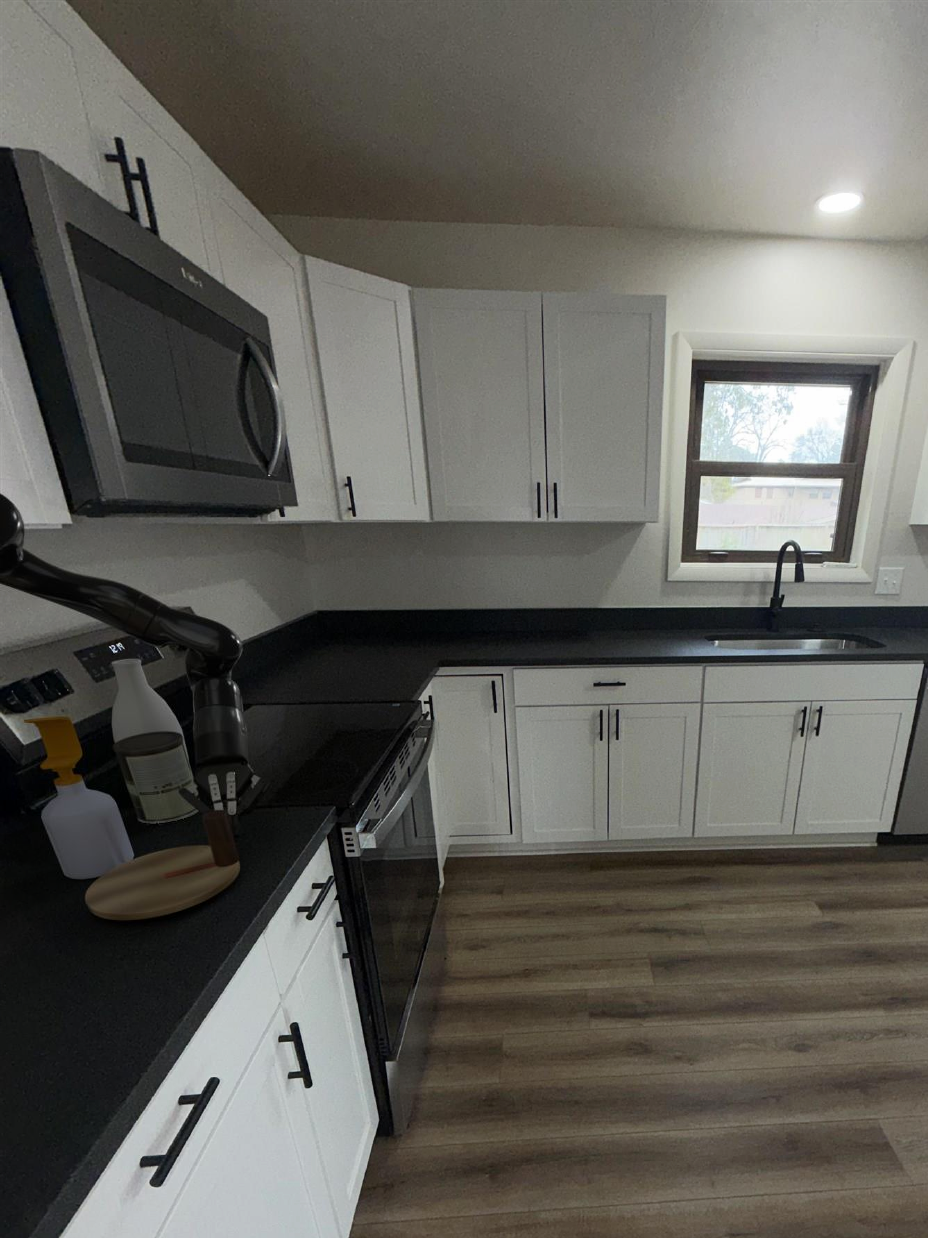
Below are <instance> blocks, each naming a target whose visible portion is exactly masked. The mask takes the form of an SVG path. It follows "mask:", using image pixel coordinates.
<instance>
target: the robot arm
mask: <svg viewBox="0 0 928 1238" xmlns="http://www.w3.org/2000/svg"><path fill="white" fill-rule="evenodd" d="M25 529H26V528H25V523H24V519H23V516H22V513H21V512H20V510H19V509H18V507H17V506H16V505H15V504H14V503H13V502H12V501H11V500H10V499H9V498H8V497H7V496H5V495H4V494H2V493H1V492H0V585H3V586H5V587H9V588H12V589H13V590H17V591H20V592H22V593H25V594H29V595H31V596H35V597H37V598H39V599H42V600H45V601H49V602H51V603H53V604H57V605H59V606H62V607H65V608H68V609H70V610H73V611H75V612H78V613H81V614H83V615H85V616H87V617H90V618H93V619H94V620H97V621H98V622H100V623H101V622H102V623H103V624H105V625H108V626H110V627H112V628H114V629H116V630H118V631H119V632H122V633H124V634H126V635H127V636H128V635H129V636H131V637H133V638H134V639H137V640H138V641H140V642H141V641H142V643H145V644H147V645H149V646H152V647H154V648H157V649H162V648H165V647H167V646H168V645H170V644H172V643H173V644H177V645H181V646H184V647H186V648H187V649H186V652H185V656H184V666H185V667H184V668H185V674H186V677H187V681H188V684H189V687H190V689H191V693H192V707H193V723H192V724H193V725H192V739H193V745H194V758H195V761H194V762H195V773H194V775H193V783H192V784H191V785H189V786H188V787H187V788H181V789H179V794H180V795H181V796H182V797H183V798H184V799H185V800H186V801H187V802H188V803H190V804H191V805H192V806H193V807H194V808H195V809H197V810H198V811H199V812H198V813H200V814H201V815H203V814H205V813H207V812H210V811H214V810H225V811H226V812H227V816H228V819H229V823H230V827H231V830H232V834H233V838H234V842H235V843H237V842H238V839H240V838H241V836H242V829H241V826H242V825H241V818H242V817H243V816H245V815H251V814H252V813H253V811H254V810H255V809H256V807H257V806H258V805H259V803H260V802H261V801H262V799H263V798H264V797H265V795H266V794H267V793H268V791H269V790H270V788H271V784H270V782H269V781H268V778H266V777H264V776H263V777H259V776H258V775H256V773H255V771H254V770H253V769H252V766H251V758H250V757H251V756H250V748H249V739H248V729H247V723H246V719H245V715H244V707H243V697H242V692H241V688H240V687H239V685H238V684H237V683H236V682H235V681H233V680H232V670H233V669H234V667H235V666H236V664H237V663H238V661H239V659H240V658H241V656H242V653H243V650H244V647H243V643H242V640H241V638H240V637H239V636H238V634H237V633H236V632H235V631H234V630H232V629H231V628H230V627H228V626H227V625H225V624H223V623H221V622H220V621H216V620H213V619H210V618H208V617H204V616H202V615H197V614H194V613H191V612H188V611H183V610H179V609H176V608H173V607H171V606H169V605H167V604H166V603H163V602H162V601H160V600H158V599H157V598H155V597H152V596H150V595H148V594H147V593H145V592H143V591H141V590H139V589H137V588H135V587H133V586H130V585H127V584H125V583H122V582H119V581H116V580H112V579H107V578H103V577H98V576H92V575H86V574H82V573H78V572H74V571H71V570H67V569H64V568H61V567H59V566H57V565H54V564H52V563H49V562H47V561H46V560H43V559H42V558H40V557H38V556H36V554H33V553H32V552H31V551H29V550H27V549H25V548H24V544H25V543H24V542H25V536H26V530H25ZM250 787H251V788H252V789H251V790H250V791H249V792H248V794H247V795H246V796H245V797H244V799H243V800H242V797H243V796H244V794H245V793H246V792H247V790H248V789H249V788H250ZM199 790H200V791H202V792H203V793H204V794H205V796H207V797H209V799H210V800H211V801H212V804H213V808H211V807H209V806H208V805H207V804H205V803H204V802H203V801H201V799H200V797H201V793H200V792H199ZM198 798H199V799H200V800H199V799H198Z"/></svg>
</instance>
